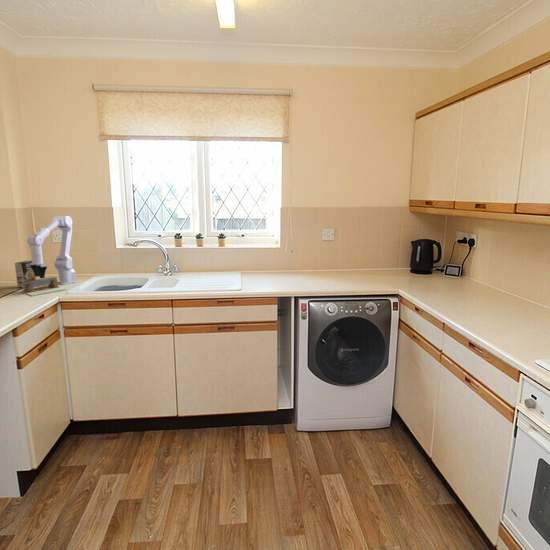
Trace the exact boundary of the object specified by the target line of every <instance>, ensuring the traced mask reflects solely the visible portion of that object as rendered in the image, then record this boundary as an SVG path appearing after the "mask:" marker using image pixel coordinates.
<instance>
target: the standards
mask: <svg viewBox="0 0 550 550" xmlns="http://www.w3.org/2000/svg"><path fill="white" fill-rule="evenodd" d="M57 282H58V279H57V280H54V281H52V283H53V284H48V285H44V286H38V287H33V284H29V285H27V286H28V288H23V290H22V292H23V293H25V292H26V294H27V293H31V292H36V291H42V290H47V289H53V288H59V287H60V286H58V284H59V283H57Z"/></svg>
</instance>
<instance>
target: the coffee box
mask: <svg viewBox="0 0 550 550" xmlns="http://www.w3.org/2000/svg"><path fill="white" fill-rule="evenodd" d="M30 263H32V260H23V261H20V262H19V261H18V262H14V269H15V275H16V283H17V288H18V287H22V288H21V289H24V286H23V282H24V281H30V280H37V277H35V275H34V272H33V270H32V268H31V267H30V266H33V265H31V264H30Z"/></svg>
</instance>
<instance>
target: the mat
mask: <svg viewBox="0 0 550 550" xmlns="http://www.w3.org/2000/svg"><path fill="white" fill-rule="evenodd" d="M66 289H67V287H62V286H59V288H53V289H47V290H42V291H36V292H31V293H26V295H27V294H28V296H30V297H35V295H36V296H40V295H41V294H42V295H47V294H52V293H51V292H53V293H57V292H56V291H58V292H62V290H63V291H67V290H66ZM46 293H47V294H46ZM42 295H41V296H42Z"/></svg>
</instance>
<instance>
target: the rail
mask: <svg viewBox="0 0 550 550" xmlns="http://www.w3.org/2000/svg"><path fill="white" fill-rule="evenodd" d="M54 280H57V281H58V277H57V276H50V277H44V278H38V279H37V278H36V280H30V281H24V282H23V286H24V288H28V286H27V285H29V284H33V288H37V287H43V286H48V285H49V284H53V283H52V281H54ZM24 288H23V289H24Z"/></svg>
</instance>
